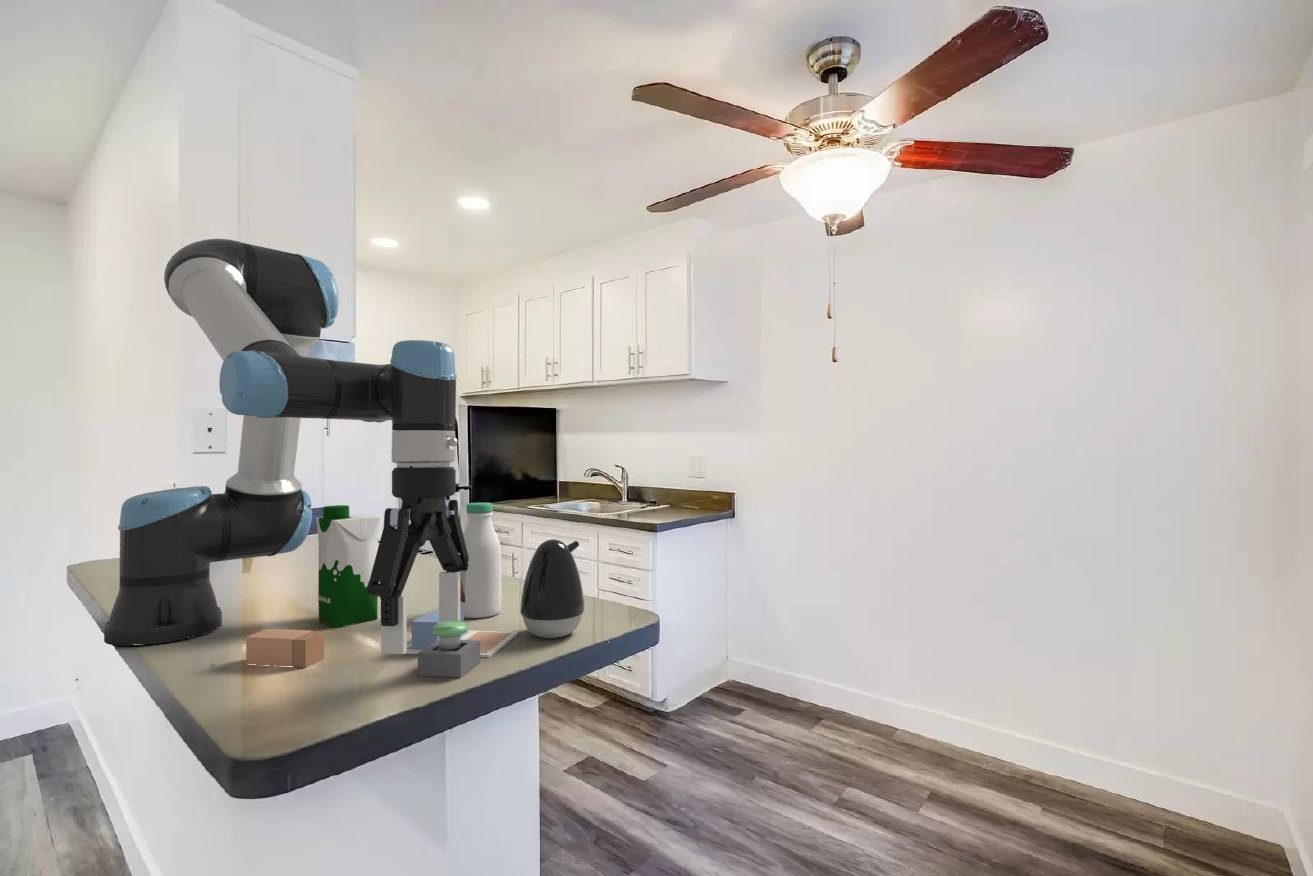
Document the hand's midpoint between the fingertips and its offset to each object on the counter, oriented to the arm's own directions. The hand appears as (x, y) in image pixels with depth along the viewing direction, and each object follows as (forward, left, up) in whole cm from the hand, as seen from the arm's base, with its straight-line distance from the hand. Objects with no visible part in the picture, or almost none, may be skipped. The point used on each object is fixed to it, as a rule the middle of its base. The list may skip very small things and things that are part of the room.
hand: (424, 635), depth 79 cm
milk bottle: (-8, +35, -7) cm, 36 cm away
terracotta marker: (-24, +7, -7) cm, 26 cm away
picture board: (-4, +18, -7) cm, 19 cm away
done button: (0, +7, -4) cm, 8 cm away
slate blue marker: (-7, +17, -6) cm, 20 cm away
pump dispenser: (+9, +25, -7) cm, 27 cm away
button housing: (0, +7, -7) cm, 10 cm away
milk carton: (-29, +28, -7) cm, 41 cm away
